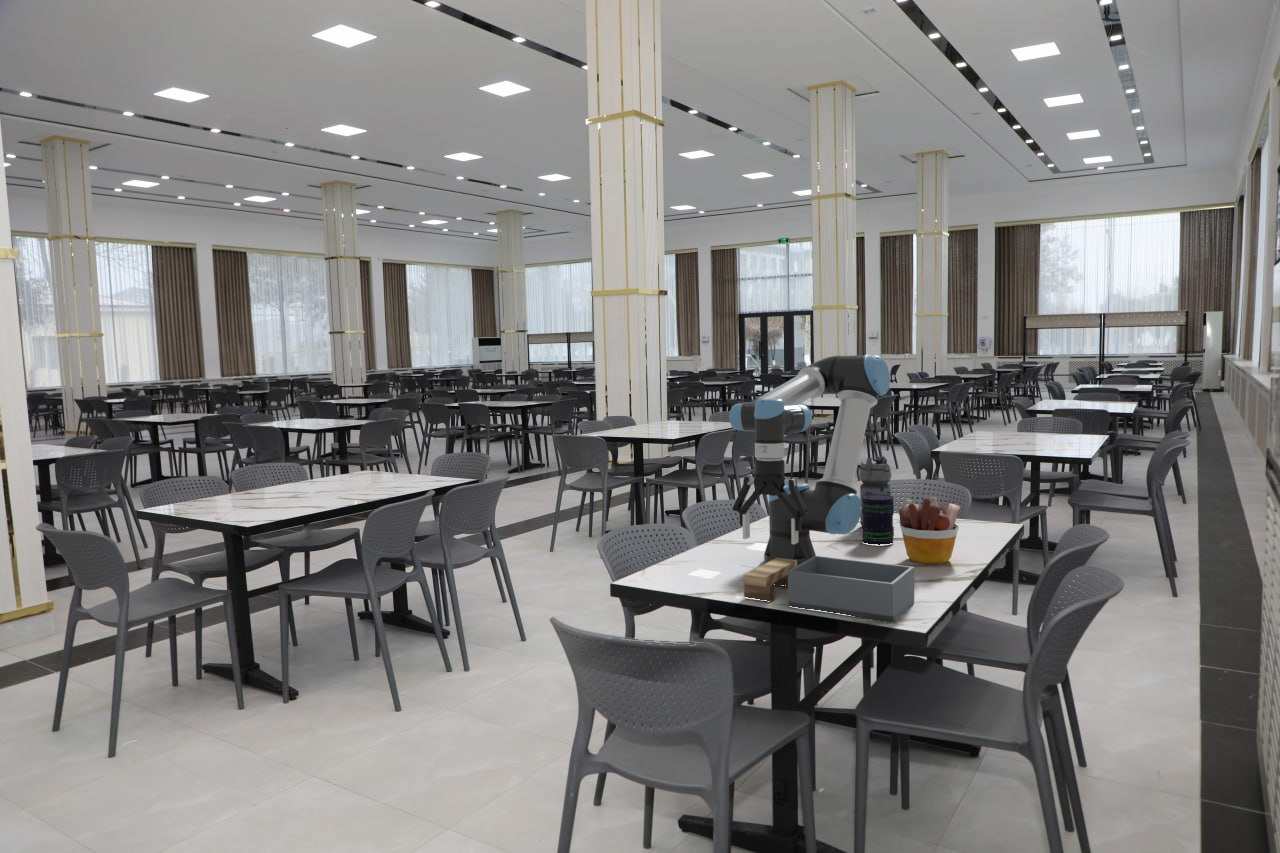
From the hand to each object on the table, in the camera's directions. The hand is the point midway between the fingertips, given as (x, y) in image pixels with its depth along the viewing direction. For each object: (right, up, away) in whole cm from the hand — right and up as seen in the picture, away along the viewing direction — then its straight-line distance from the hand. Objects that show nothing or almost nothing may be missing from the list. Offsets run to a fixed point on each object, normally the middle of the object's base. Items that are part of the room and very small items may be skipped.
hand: (770, 540), depth 223 cm
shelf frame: (+18, -14, -12) cm, 26 cm away
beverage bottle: (+49, -6, +78) cm, 92 cm away
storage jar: (+43, -8, +54) cm, 69 cm away
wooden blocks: (+1, -13, +1) cm, 14 cm away
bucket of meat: (+51, -10, +29) cm, 60 cm away
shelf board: (0, -9, +1) cm, 10 cm away
